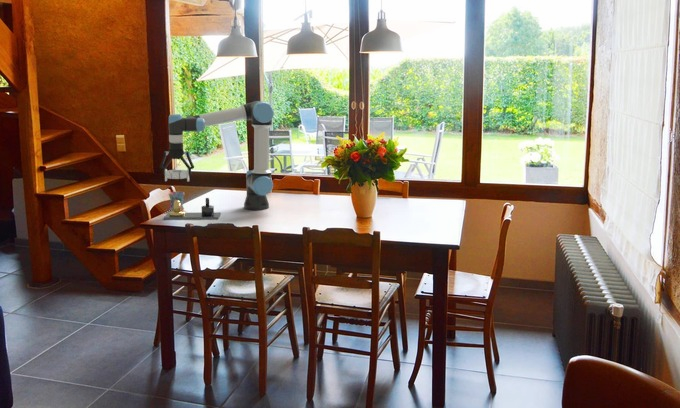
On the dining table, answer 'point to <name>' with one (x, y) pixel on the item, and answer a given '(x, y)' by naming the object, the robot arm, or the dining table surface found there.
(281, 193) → the dining table surface
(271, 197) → the dining table surface
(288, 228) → the dining table surface
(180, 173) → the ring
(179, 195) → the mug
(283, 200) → the dining table surface
